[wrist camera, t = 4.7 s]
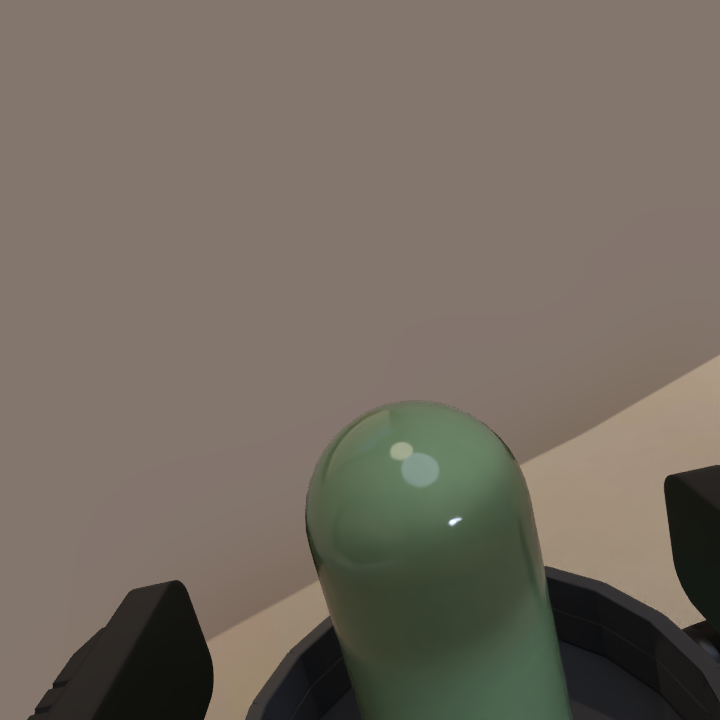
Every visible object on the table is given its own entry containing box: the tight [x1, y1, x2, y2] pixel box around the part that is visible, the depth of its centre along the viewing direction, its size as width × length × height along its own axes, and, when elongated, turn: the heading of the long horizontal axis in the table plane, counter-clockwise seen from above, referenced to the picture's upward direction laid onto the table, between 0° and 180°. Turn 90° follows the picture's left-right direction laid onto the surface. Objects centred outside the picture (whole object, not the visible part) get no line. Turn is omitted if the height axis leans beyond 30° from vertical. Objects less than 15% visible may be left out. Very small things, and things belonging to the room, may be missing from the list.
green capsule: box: [305, 400, 574, 720], centre depth 12 cm, size 5×5×10 cm
